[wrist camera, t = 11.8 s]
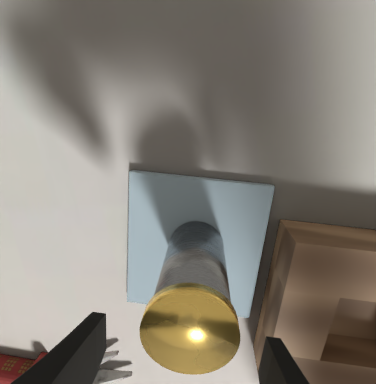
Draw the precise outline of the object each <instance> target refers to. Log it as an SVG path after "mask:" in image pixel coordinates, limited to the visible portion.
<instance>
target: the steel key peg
mask: <svg viewBox="0 0 376 384" xmlns="http://www.w3.org/2000/svg"><path fill="white" fill-rule="evenodd" d="M140 339H141V342H142V345H143V347H144V349H145V351H146V352H147V353H148V355H149V356H150V357H151V358H152V359H153V360H154V361H155V362H157V363H158V364H160V365H161V366H163V367H165V368H167V369H169V370H171V371H175V372H178V373H183V374H204V373H209V372H212V371H215V370H217V369H219V368H221V367H223V366H224V365H226V364H227V363H228V362H229V361H230V360H231V359H232V358H233V357H234V355H235V354H236V352H237V350H238V347H239V344H240V331H239V324H238V318H237V314H236V311H235V309H234V307H233V305H232V304H231V298H230V291H229V283H228V275H227V268H226V260H225V253H224V245H223V240H222V237H221V235H220V233H219V232H218V231H217V230H216V229H215V228H214V227H213V226H211V225H210V224H207V223H205V222H201V221H191V222H187V223H184V224H182V225H180V226H179V227H178V228H177V229H176V230H175V231H174V232H173V234H172V236H171V238H170V242H169V245H168V248H167V252H166V255H165V259H164V262H163V266H162V269H161V272H160V276H159V279H158V283H157V286H156V290H155V293H154V296H153V297H152V298H151V299H150V301H149V302H148V304H147V306H146V309H145V312H144V315H143V318H142V321H141V325H140Z"/></svg>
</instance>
